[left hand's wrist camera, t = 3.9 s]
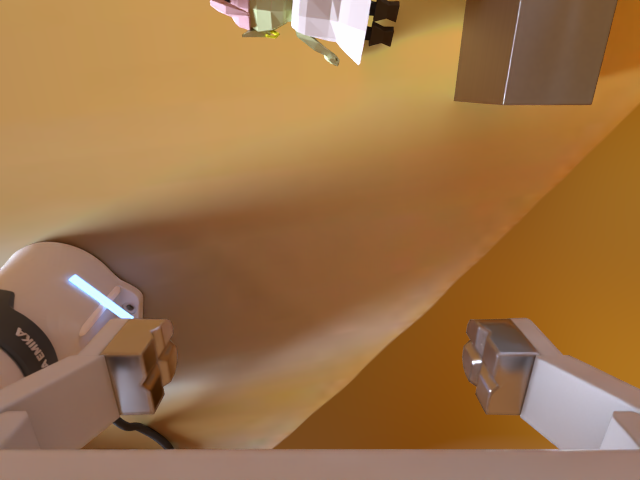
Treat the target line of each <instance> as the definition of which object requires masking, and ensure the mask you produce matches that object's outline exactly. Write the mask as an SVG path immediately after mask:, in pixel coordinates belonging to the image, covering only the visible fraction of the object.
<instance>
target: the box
mask: <svg viewBox="0 0 640 480" xmlns="http://www.w3.org/2000/svg"><path fill="white" fill-rule="evenodd" d="M617 1H618V0H466V7H465V15H464V24H463V32H462V40H461V48H460V56H459V64H458V72H457V81H456V89H455V97H454V101H460V102H473V103H485V104H498V105H591V104H592V101H593V97H594V93H595V89H596V85H597V81H598V77H599V73H600V69H601V65H602V61H603V57H604V53H605V49H606V45H607V41H608V37H609V33H610V29H611V25H612V21H613V17H614V13H615V9H616V5H617Z"/></svg>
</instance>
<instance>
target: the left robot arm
mask: <svg viewBox="0 0 640 480" xmlns="http://www.w3.org/2000/svg"><path fill="white" fill-rule="evenodd" d="M130 305H132V306H133V307H130ZM173 333H174V331H173V326H172V322H171V321H170V320H169V319H143V295H142V293H141V292H140V290H138V289H137V288H136V287H134V286H132V285H130V284H128V283H126V282H124V281H122V280H120V279H119V278H118V277H117V276H116V275H114V274H113V273H112V271H111V270H110V269H109V268H108V267H107V266H106V265H104V264H103V263H102V262H101V261H100V260H98V259H97V258H96V257H94V256H93V255H91V254H89V253H88V252H86V251H84V250H82V249H79V248H77V247H74V246H71V245H68V244H63V243H58V242H39V243H34V244H30V245H28V246H25V247H23V248H21V249H19V250H18V251H17V252H15V253H14V254H13V255H12V256H11V257H10V259H9V260H8V261H7V262H6V264H5V265H4V266H3V267H2V268H1V269H0V480H640V389H638V388H636V387H634V386H632V385H630V384H628V383H626V382H624V381H622V380H620V379H617V378H615V377H613V376H611V375H609V374H607V373H605V372H603V371H601V370H599V369H597V368H595V367H592V366H590V365H588V364H586V363H584V362H582V361H580V360H578V359H576V358H574V357H572V356H569V355H563V354H562V353H561V352H560V351H559V350H558V349H557V348H556V347H555V346H554V345H553V344H552V343H551V342H550V340H549V339H548V338H547V337H546V336H545V335H544V334H543V333H542V332H541V331H540V330H539V329H538V327H537V326H536V325H535V324H534V323H533V322H532V321H531V320H529V319H527V318H509V319H474V320H470V321H469V323H468V325H467V331H466V333H467V335H468V337H469V338H470V340H469V341H468V342H467V343H466V345H464V348H463V356H462V358H463V367H464V371H465V374H466V376H467V378H468V380H469V382H471V383H472V384H473V385H475V386H476V387H477V389H476V396H477V398H478V400H479V402H480V404H481V406H482V408H483V410H484V411H485V413H486V414H497V415H520V417H521V418H522V419H523V420H525V421H526V422H527V423H528V424H530V425H531V426H532V427H533V428H534V429H536V430H537V431H538V432H539V433H540V434H542V435H543V436H544V437H545V438H547V439H548V440H549V441H550V442H552V443H553V444H554V445H555V446H556V447H558V448H559V449H174V448H173V446H172V445H171V444H170V443H169V442H168V441H167V440H166V439H165V438H164V437H163V436H161V435H160V434H159V433H157V432H156V431H154V430H152V429H151V428H149V427H147V426H145V425H143V424H141V423H128V422H126V421H124V420H123V419H122V418H120V415H144V414H154V413H155V412H156V410H157V408H158V406H159V404H160V402H161V400H162V398H163V396H164V388H163V387H164V386H165V385H167V384H168V383H169V382H171V380H172V378H173V376H174V374H175V371H176V366H177V348H176V345H175V344H174V343H173V342H172V341H171V340H170V338H171V337H172V335H173ZM112 423H113V424H114V425H116V426H117V427H119V428H120V429H122V430H125V431H133V430H136V431H139V432H141V433H143V434H144V435H146V436H148V437H150V438H151V439H153V440H154V441H156V442H157V443H158V444H160V445H161V446H162V447H163V448H164V449H81V448H83V447H84V446H85V445H86V444H87V443H89V442H90V441H91V440H92V439H94V438H95V437H96V436H97V435H98V434H100V433H101V432H102V431H103V430H105V429H106V428H107V427H108V426H109V425H111V424H112Z"/></svg>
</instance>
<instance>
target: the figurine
mask: <svg viewBox="0 0 640 480" xmlns="http://www.w3.org/2000/svg"><path fill="white" fill-rule="evenodd" d="M210 4H211V6H212V7H214V8H215V9H216V10H217V11H219V12H221V13H223V14H226V15H228V16H231V17H232V18H233V20H234V21H235V23H236V24H237V25H238V26H239V27H241V28H244V29H247V30H248V31H247V32H245V33H244V34H242V37H268V38H277V37H278V36H279V35H280V34H279V33H278V32H276V31H274V30H275V29H277V28H279V27H280V26H282V25H284V24H286V23H287V22H289V21H292V28H294V29H295V30H296V34H297V37H298V38H299V39H301V40H302V41H303V42H305V43H306V44H307V45H308V46H310V47H311V48H312V49H313V50H315V51H317V52H319V53H321V54H323V55H324V57H325V59H326V60H327V61H328V62H330V63H332V64H333V65H335V66H338V64H339V59H338V57H337V56H336V55H335V54H334V53H332V52H331V51H330V50H328V49H327V48H326V47H324V46H323V45H322V44H321V43H319V42H318V41H317V40H316V39H315V38H319V39H323V40H327V41H333V42H337V43H338V45H339V46H340V47H341V48H342V49H343V51H344V52H345V53H346V54H347V55H348V56H349V57H351V58H352V59H353V60H354V61H355V62H356V63H357V64H358V65H359V63H360V60H361V55H362V50H363V45H364V40H369V46H372V45H375V44H379V43H382V44H385V45H387V46H391V42H392V37H393V33H394V27H384V26H381V25H379V24H377V23H375V21H379V20H382V19H386V18H387V19H389V20H391V21H394V22H396V19H397V15H398V10H399V6H400V5H399V1H387V0H377V1H376V2H374V1H371V0H210ZM369 15H372V16H374V17H373V23H372V27H368V26H367V23H368V17H369ZM271 33H273V34H275V36H271V35H270V34H271ZM314 37H315V38H314Z"/></svg>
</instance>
